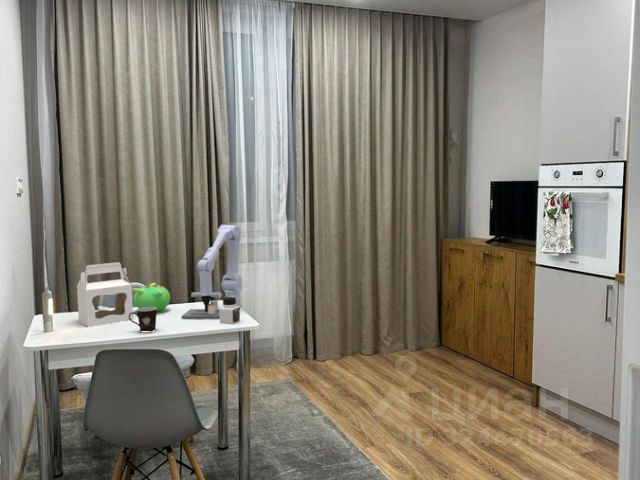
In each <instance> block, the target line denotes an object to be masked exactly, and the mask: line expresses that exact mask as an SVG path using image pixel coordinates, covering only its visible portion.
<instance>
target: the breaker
mask: <svg viewBox="0 0 640 480" xmlns="http://www.w3.org/2000/svg"><path fill="white" fill-rule="evenodd" d="M209 304H216V311H217V310H218V309H219V300H210V302H209Z"/></svg>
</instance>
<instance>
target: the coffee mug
mask: <svg viewBox="0 0 640 480" xmlns="http://www.w3.org/2000/svg"><path fill="white" fill-rule="evenodd" d="M157 313H158V312H157V308H156V307H143V308H137V309H136V312H134V311H133V312H132V313H130V314H129V319H130V315H131V314H133V315H136V317H137V318H138V322H136V321H134V320H131V319H130V320H129V321H131V323H134V324H135V325H137V326H138V327H139V330H140V332H141V331H153V330H155V331H156V325H157V315H158V314H157Z"/></svg>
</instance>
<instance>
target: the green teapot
mask: <svg viewBox="0 0 640 480" xmlns="http://www.w3.org/2000/svg"><path fill="white" fill-rule="evenodd" d="M132 292H135V293H134V295H133V301H134V305H135V307H136V308H137V309H139V308H143V307H156V308H157V313H158V312H160V311H163V310H164V309H166V308H168V306H169V304H170V302H171V295H170V292H169V290H168V289H167V288H165V286H162V285H158V284H156V282H152V283H150V284H148V285H145V286H144V285H143V286H141V287H140V288H136V287H135V288H134V287H132Z"/></svg>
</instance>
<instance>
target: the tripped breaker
mask: <svg viewBox="0 0 640 480" xmlns="http://www.w3.org/2000/svg"><path fill="white" fill-rule="evenodd" d="M215 313H216V304H211V303H209V304H208V314H215Z"/></svg>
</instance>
